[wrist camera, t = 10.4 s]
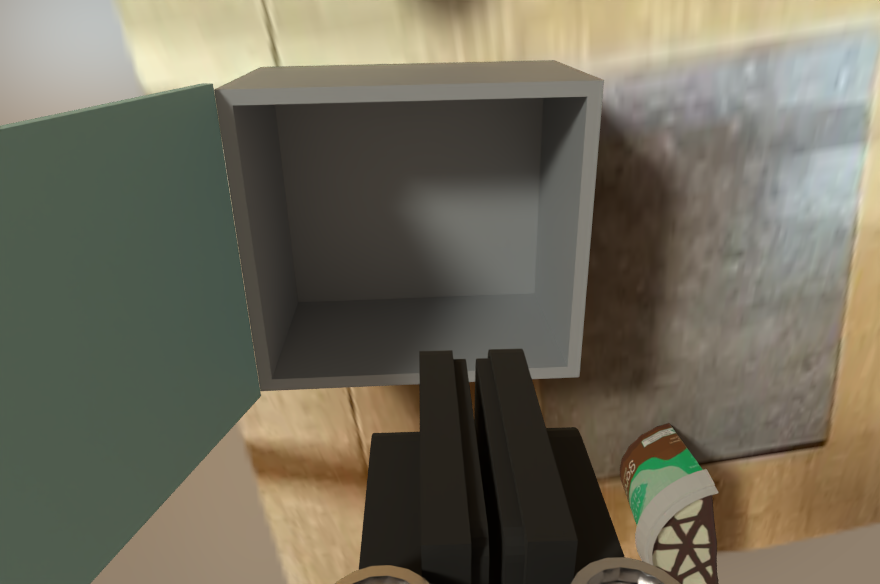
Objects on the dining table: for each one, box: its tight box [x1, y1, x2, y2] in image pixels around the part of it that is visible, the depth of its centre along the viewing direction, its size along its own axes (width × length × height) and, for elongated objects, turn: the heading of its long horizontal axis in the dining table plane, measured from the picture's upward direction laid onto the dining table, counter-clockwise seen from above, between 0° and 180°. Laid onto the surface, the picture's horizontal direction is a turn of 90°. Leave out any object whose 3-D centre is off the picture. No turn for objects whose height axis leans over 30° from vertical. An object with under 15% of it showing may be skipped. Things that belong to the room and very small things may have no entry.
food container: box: [620, 423, 719, 584], centre depth 55 cm, size 12×6×10 cm, turn 13°
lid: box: [0, 84, 261, 584], centre depth 27 cm, size 21×19×1 cm
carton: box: [214, 60, 604, 391], centre depth 43 cm, size 20×18×12 cm
